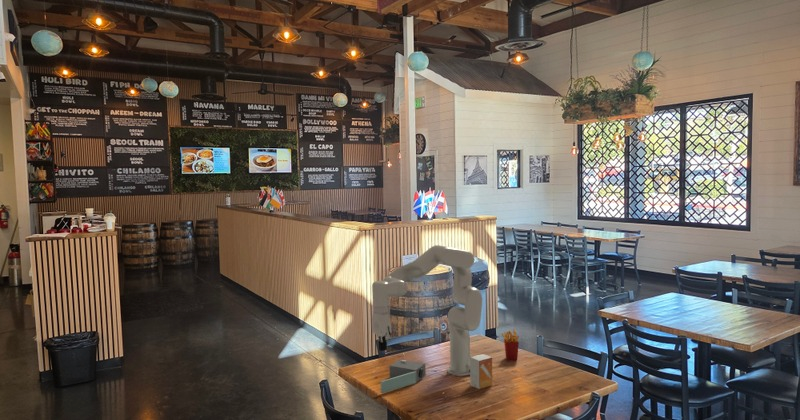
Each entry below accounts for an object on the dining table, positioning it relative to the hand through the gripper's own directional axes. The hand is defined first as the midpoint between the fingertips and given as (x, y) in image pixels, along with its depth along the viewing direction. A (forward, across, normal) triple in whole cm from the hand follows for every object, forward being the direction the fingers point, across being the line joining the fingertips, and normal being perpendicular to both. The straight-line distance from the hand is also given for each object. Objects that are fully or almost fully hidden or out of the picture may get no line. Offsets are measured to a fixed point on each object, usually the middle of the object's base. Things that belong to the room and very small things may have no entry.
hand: (382, 350), depth 232 cm
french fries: (+20, 0, +74) cm, 77 cm away
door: (+18, +1, +7) cm, 20 cm away
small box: (+19, +20, +39) cm, 48 cm away
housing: (+19, -8, +18) cm, 27 cm away
